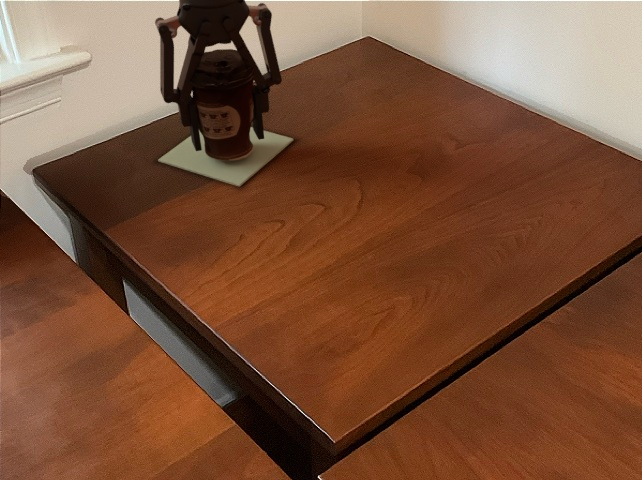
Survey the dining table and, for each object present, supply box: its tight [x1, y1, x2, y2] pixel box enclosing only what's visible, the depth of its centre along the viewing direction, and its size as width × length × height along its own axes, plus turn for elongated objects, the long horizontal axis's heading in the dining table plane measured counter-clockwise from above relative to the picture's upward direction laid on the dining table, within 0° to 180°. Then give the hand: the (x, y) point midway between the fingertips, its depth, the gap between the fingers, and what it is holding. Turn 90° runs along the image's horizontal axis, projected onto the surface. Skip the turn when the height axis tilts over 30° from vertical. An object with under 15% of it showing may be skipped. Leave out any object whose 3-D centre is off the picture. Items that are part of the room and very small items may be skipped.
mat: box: [157, 126, 294, 187], centre depth 110 cm, size 13×13×1 cm
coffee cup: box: [190, 48, 255, 161], centre depth 104 cm, size 9×8×13 cm
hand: (228, 139), depth 107 cm, fingers closed on coffee cup, 8 cm apart
